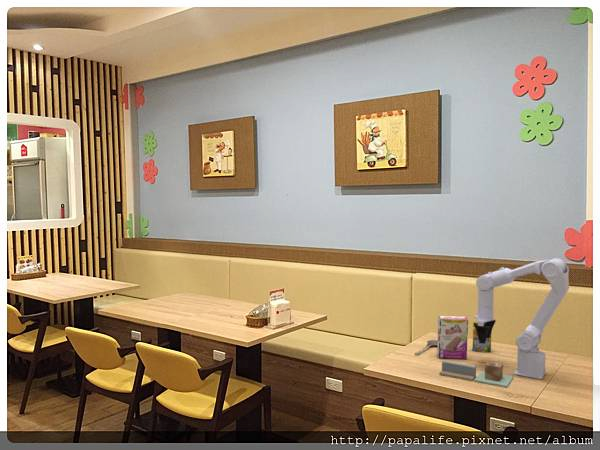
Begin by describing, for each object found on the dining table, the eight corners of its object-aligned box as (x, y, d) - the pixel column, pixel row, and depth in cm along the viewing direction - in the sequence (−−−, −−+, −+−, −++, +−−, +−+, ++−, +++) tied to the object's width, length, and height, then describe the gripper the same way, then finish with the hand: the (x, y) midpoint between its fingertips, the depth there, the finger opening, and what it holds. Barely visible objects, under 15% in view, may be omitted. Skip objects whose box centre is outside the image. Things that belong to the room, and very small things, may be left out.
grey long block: (475, 377, 194) (476, 366, 194) (472, 381, 190) (473, 370, 190) (442, 371, 200) (443, 360, 200) (439, 374, 197) (439, 364, 196)
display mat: (513, 377, 193) (513, 376, 193) (507, 387, 184) (507, 385, 184) (481, 372, 199) (482, 370, 199) (474, 381, 190) (474, 379, 190)
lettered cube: (502, 377, 193) (502, 363, 192) (499, 381, 188) (499, 367, 188) (488, 374, 195) (488, 360, 195) (484, 378, 191) (485, 364, 191)
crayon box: (472, 351, 225) (473, 323, 224) (472, 349, 228) (473, 322, 227) (490, 352, 223) (491, 325, 222) (490, 350, 225) (491, 323, 225)
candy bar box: (438, 358, 215) (439, 318, 214) (436, 355, 220) (437, 315, 219) (467, 359, 214) (468, 319, 212) (465, 355, 219) (465, 316, 217)
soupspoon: (445, 347, 234) (431, 345, 238) (445, 339, 234) (431, 337, 238) (423, 357, 217) (408, 355, 221) (423, 349, 217) (408, 347, 221)
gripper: (479, 301, 215) (478, 334, 216) (469, 308, 202) (469, 343, 203) (498, 303, 211) (497, 337, 212) (489, 310, 199) (488, 346, 200)
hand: (484, 340), depth 207 cm, fingers open, 7 cm apart
